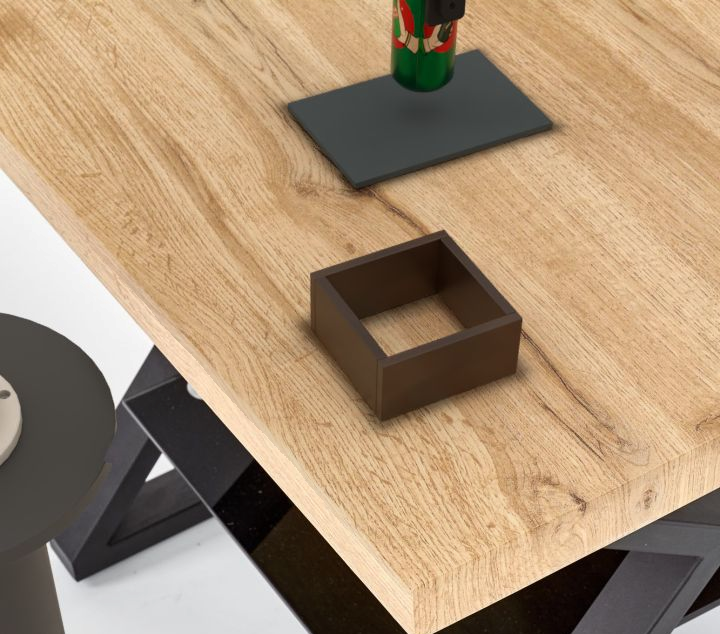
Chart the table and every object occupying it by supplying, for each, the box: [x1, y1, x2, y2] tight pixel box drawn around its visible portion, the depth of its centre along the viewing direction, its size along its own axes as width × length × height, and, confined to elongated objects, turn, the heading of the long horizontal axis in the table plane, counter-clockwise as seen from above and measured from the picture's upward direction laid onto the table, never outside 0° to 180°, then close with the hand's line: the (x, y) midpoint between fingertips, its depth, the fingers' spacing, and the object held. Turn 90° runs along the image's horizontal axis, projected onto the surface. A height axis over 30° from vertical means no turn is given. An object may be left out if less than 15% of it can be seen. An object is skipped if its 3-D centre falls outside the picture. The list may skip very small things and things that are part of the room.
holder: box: [309, 229, 524, 423], centre depth 108 cm, size 11×11×5 cm
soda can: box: [389, 0, 459, 93], centre depth 121 cm, size 5×5×12 cm
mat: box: [287, 48, 554, 190], centre depth 128 cm, size 18×12×1 cm, turn 118°
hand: (425, 0), depth 120 cm, fingers closed on soda can, 5 cm apart
